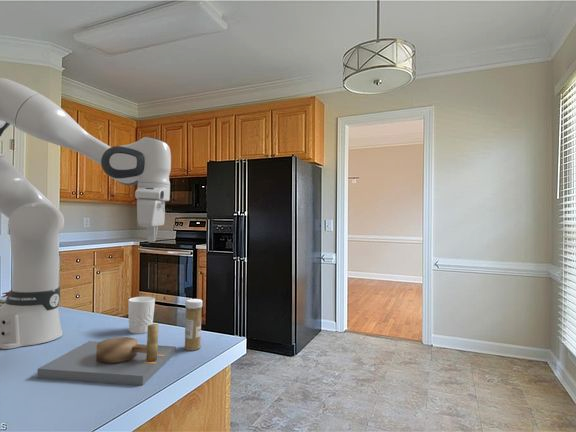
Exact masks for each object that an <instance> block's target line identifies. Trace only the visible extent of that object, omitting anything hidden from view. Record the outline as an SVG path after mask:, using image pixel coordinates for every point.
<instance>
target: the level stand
mask: <svg viewBox="0 0 576 432" xmlns="http://www.w3.org/2000/svg"><path fill="white" fill-rule="evenodd" d="M99 342H100V341H93V340H89V341H87V342H85V343H83V344H81V345H79V346H77V347H76V348H73V349H72V350H70V351H68V352H66V353H64V354H63V355H61V356H58V357H56V358H55V359H53V360H51V361H49V362H48V363H46V364H44V365H41V366H40V367H39V368H37V374H36V375H37V379H47V378H48V379H47V380H49V379H50V380H61V379H63V380H64V381H78V382H93V383H103V384H104V383H107V384H118V385H120V384H121V385H133V386H144V385H145V384H146V383H147V382H148V381H149V380H150V379H151V378H152V377H153V376H154V375H155V374H156V373H157V372H158V371H159V370H160V369H161V368H162V367H163V366H164V365H165V364H166V363H167V362H169V360H170V359H171V358H172V357H174V356H175V354H176V346H172V345H158V348H157V359H156V360H154V361H147V360H146V356H147V353H139V352H137V355H136V356H135V357H134V358H132V359H130V360H127V361H123V362H117V363H103V362H99V361H97V360H96V350H97V344H98V343H99ZM138 344H139V345H145V343H144V344H142V343H138Z"/></svg>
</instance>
